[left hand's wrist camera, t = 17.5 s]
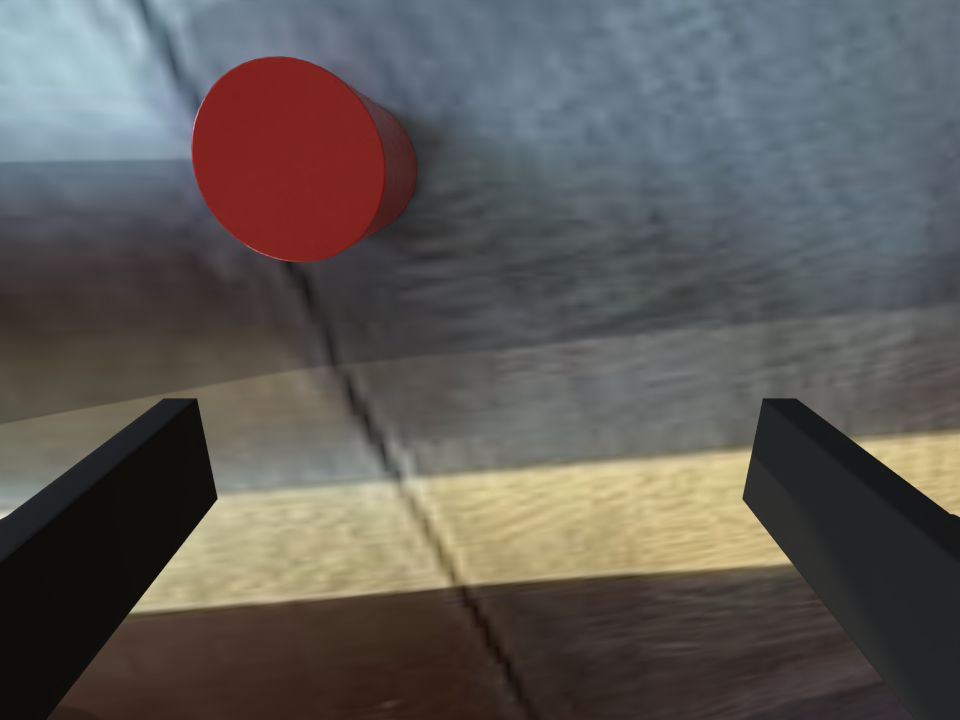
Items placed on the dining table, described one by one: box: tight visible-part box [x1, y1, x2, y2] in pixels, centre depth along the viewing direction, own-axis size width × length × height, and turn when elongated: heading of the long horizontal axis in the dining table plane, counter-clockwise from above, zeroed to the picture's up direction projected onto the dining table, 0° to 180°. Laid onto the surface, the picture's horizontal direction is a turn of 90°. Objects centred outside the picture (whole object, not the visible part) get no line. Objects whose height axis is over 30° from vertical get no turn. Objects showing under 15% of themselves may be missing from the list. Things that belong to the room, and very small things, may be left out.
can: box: [191, 56, 417, 262], centre depth 22 cm, size 6×6×10 cm
